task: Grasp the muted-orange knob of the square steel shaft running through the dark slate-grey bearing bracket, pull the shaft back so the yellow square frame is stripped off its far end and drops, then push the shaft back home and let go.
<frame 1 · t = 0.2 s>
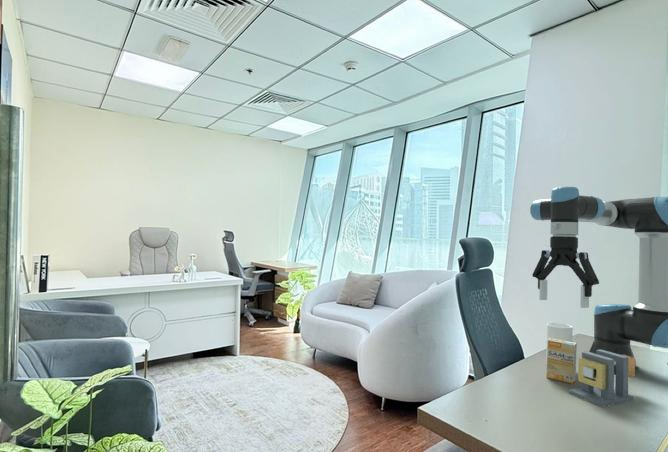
hand: (562, 303, 118), 28 cm above the table, fingers open, 13 cm apart
white hollow tube: (558, 368, 140), on the table
bearing bracket: (604, 395, 115), on the table
supplement box: (561, 380, 128), on the table
yellow square frame: (592, 373, 113), point 8 cm above the table, touching shaft
shaft: (609, 368, 117), point 8 cm above the table, slide at 0.0 cm, touching yellow square frame
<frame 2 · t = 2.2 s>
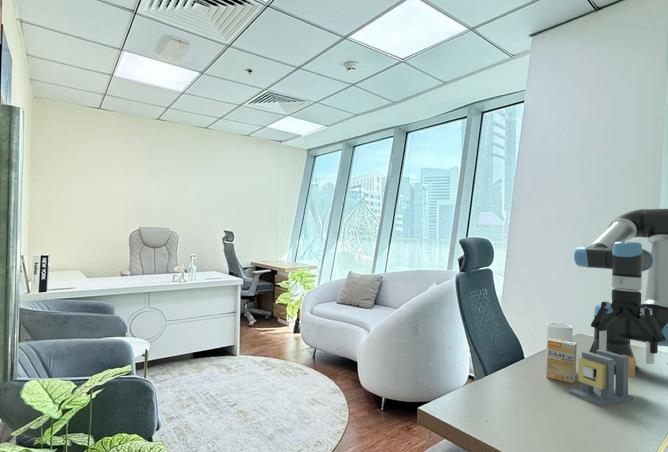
hand: (625, 356, 120), 11 cm above the table, fingers open, 13 cm apart
nothing on the table moved.
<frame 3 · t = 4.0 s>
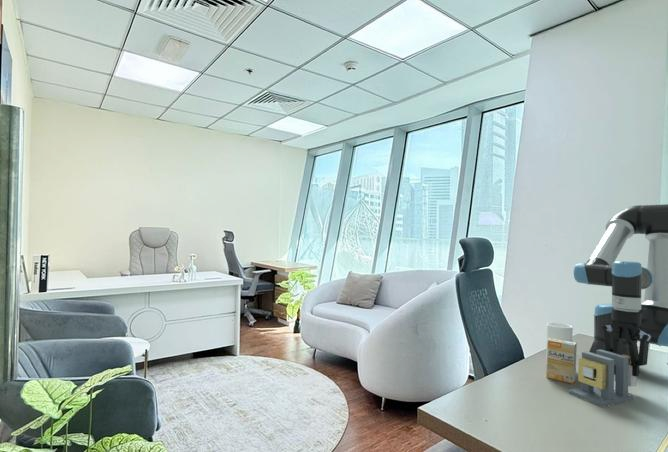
hand: (625, 383, 120), 3 cm above the table, fingers closed on shaft, 3 cm apart
shaft: (609, 368, 117), point 8 cm above the table, slide at 0.0 cm, touching gripper, yellow square frame
everything else where it was.
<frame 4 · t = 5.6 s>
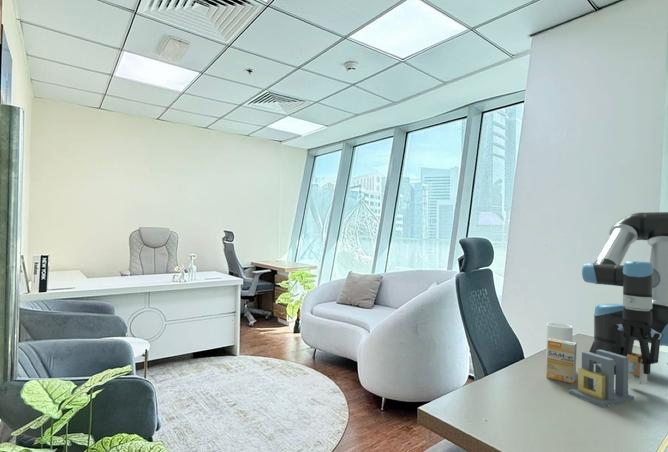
hand: (636, 380, 122), 3 cm above the table, fingers closed on shaft, 3 cm apart
yellow square frame: (591, 383, 113), point 5 cm above the table, touching bearing bracket
shaft: (620, 366, 119), point 8 cm above the table, slide at 5.8 cm, touching gripper
everything else where it was.
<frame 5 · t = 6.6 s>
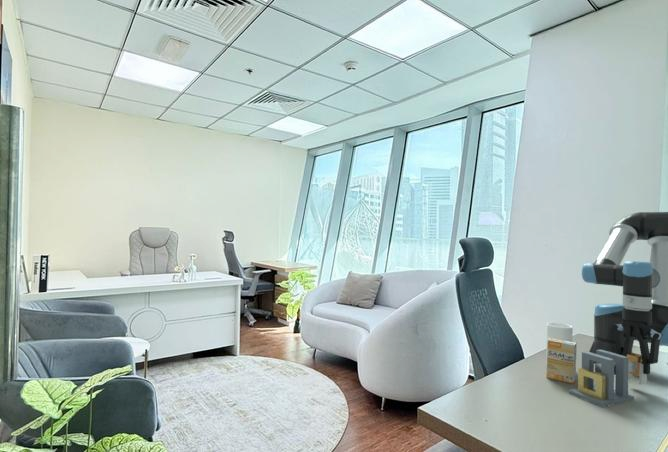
hand: (636, 381, 122), 3 cm above the table, fingers closed on shaft, 3 cm apart
shaft: (620, 366, 119), point 8 cm above the table, slide at 5.6 cm, touching gripper
everything else where it was.
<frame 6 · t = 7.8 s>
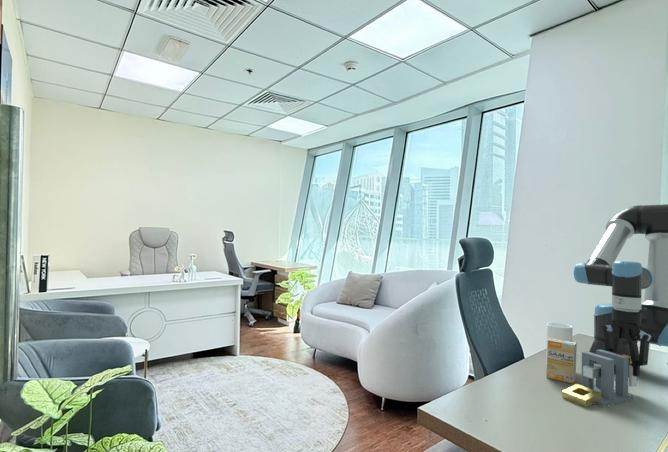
hand: (625, 383, 120), 3 cm above the table, fingers open, 3 cm apart
yellow square frame: (581, 395, 111), point 2 cm above the table, tilted 101°, touching bearing bracket
shaft: (609, 368, 117), point 8 cm above the table, slide at 0.0 cm
everything else where it was.
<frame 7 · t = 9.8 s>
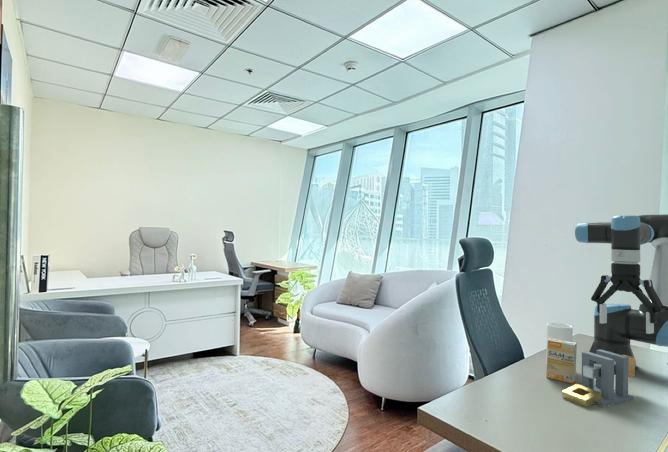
hand: (625, 328, 122), 20 cm above the table, fingers open, 13 cm apart
nothing on the table moved.
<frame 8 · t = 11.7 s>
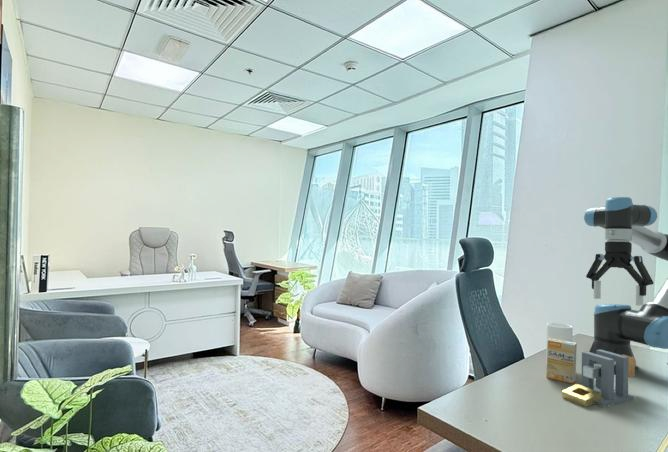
hand: (617, 301, 132), 27 cm above the table, fingers open, 13 cm apart
nothing on the table moved.
at the end: yellow square frame point 1.7 cm above the table; shaft slide at 0.0 cm; the gripper is holding nothing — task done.
